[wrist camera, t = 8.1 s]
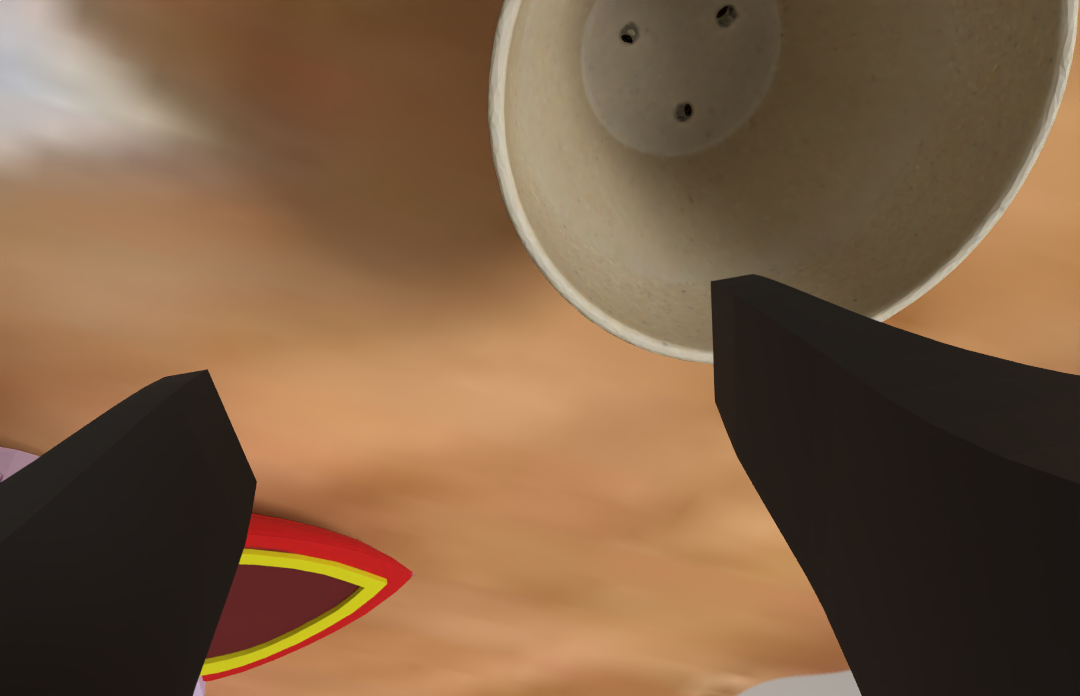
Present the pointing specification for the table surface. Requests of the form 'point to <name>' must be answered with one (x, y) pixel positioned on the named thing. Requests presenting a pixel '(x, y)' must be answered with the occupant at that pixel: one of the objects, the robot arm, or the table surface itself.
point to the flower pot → (764, 146)
